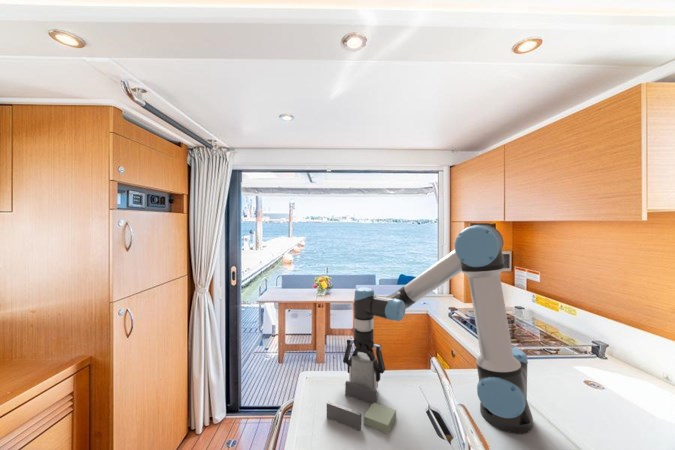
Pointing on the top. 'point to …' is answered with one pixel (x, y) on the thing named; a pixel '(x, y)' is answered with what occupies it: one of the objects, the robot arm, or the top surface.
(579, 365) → the top surface
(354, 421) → the parallel grey rails
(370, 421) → the block
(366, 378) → the grey cylindrical piece
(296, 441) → the top surface
